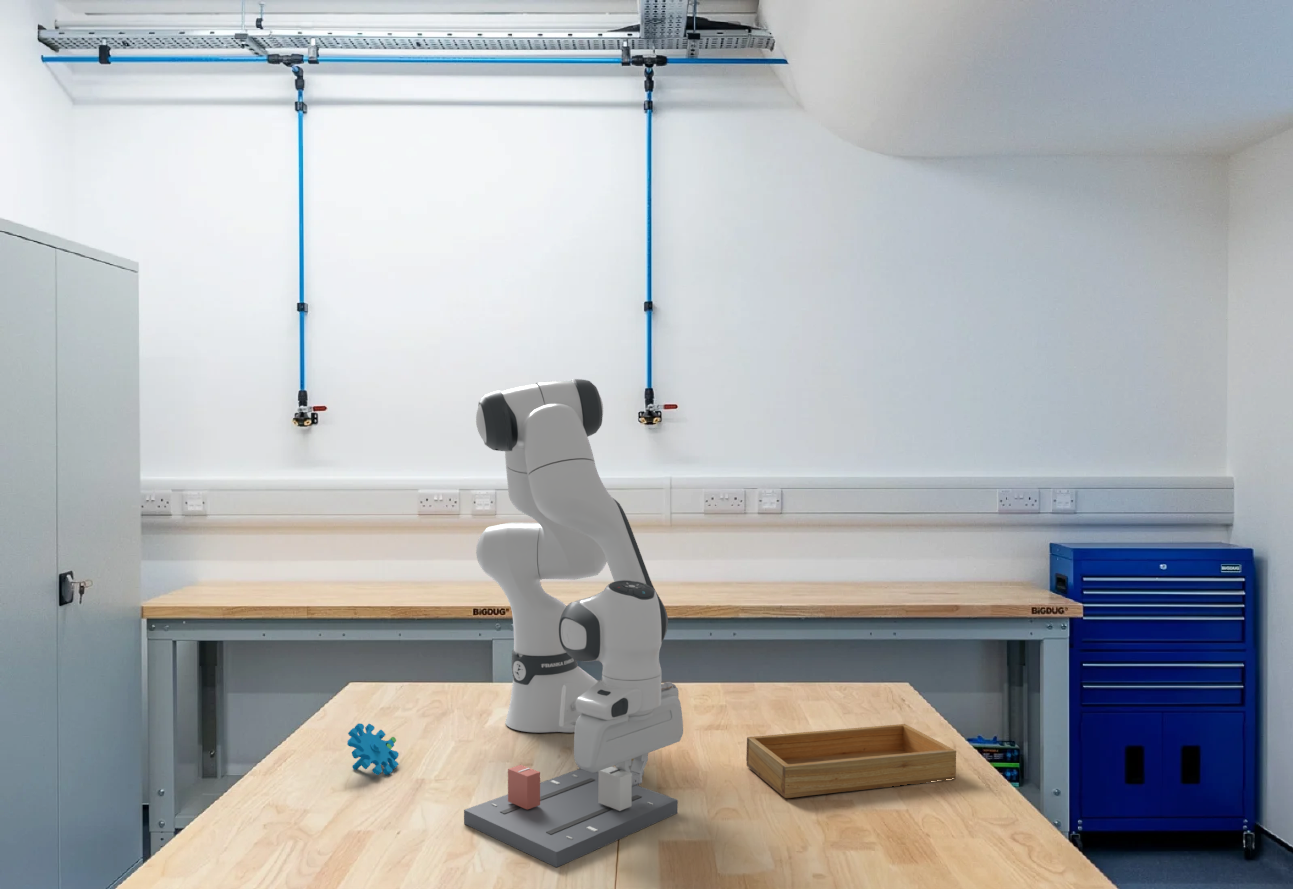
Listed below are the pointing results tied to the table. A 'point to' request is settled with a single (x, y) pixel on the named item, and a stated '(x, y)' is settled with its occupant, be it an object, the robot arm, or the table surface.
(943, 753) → the tray
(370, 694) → the table surface
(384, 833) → the table surface
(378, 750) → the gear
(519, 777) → the red fader
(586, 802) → the console
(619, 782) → the grey fader
